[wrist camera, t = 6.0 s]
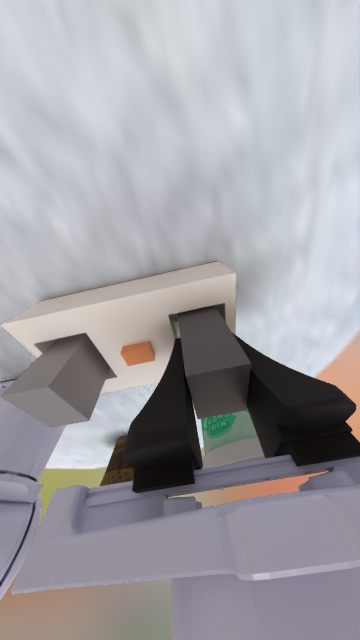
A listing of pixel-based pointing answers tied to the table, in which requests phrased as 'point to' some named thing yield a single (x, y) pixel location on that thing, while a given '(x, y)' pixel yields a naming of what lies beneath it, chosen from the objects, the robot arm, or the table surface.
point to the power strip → (129, 320)
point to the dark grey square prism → (213, 363)
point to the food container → (230, 440)
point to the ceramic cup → (118, 466)
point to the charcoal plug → (61, 382)
